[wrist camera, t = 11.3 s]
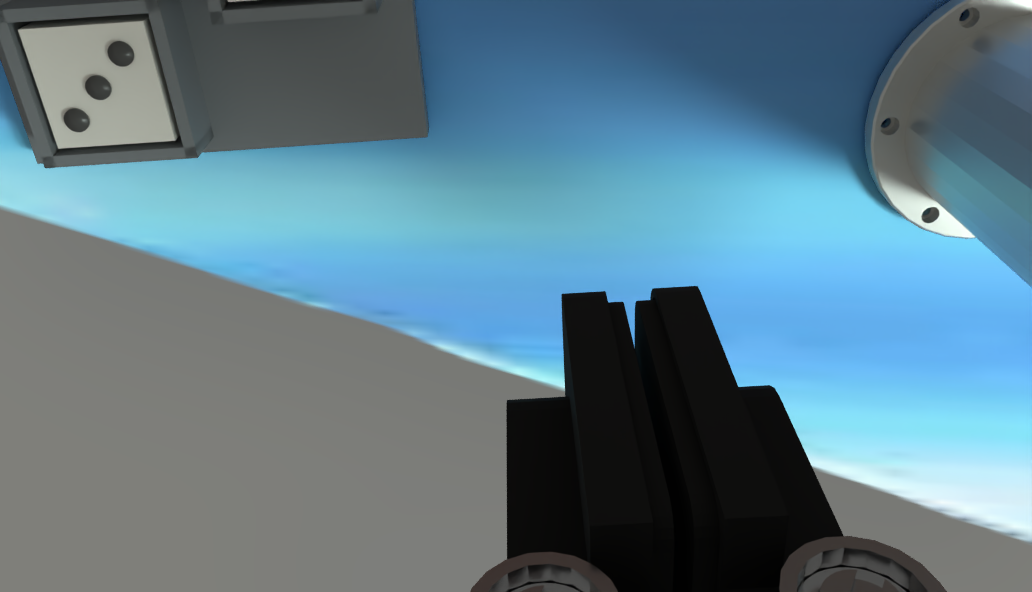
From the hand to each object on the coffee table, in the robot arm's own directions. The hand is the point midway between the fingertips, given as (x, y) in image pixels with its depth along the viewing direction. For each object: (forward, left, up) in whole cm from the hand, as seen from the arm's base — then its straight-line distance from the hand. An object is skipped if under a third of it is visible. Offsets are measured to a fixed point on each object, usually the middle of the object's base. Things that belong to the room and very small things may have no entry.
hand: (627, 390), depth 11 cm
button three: (+18, +3, -29) cm, 34 cm away
